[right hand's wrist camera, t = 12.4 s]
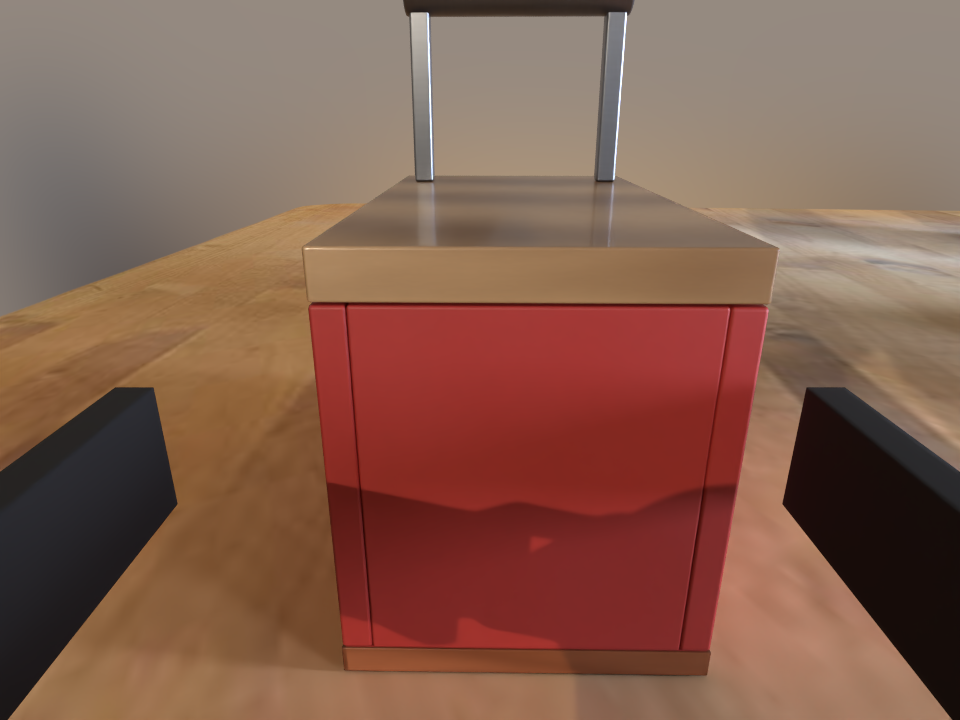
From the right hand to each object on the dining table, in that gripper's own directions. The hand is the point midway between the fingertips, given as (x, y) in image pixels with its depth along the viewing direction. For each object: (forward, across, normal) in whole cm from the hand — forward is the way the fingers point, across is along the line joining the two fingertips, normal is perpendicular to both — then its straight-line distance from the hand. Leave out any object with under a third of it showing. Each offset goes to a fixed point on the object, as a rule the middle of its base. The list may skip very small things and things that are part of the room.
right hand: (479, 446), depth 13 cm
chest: (+8, +1, -7) cm, 11 cm away
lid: (+8, +1, +3) cm, 9 cm away
